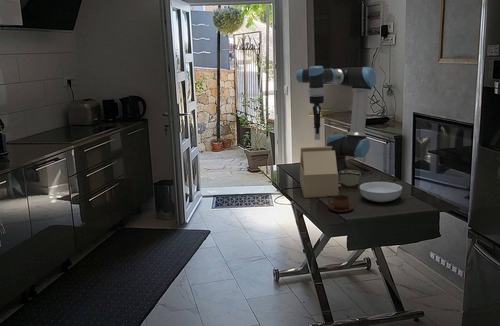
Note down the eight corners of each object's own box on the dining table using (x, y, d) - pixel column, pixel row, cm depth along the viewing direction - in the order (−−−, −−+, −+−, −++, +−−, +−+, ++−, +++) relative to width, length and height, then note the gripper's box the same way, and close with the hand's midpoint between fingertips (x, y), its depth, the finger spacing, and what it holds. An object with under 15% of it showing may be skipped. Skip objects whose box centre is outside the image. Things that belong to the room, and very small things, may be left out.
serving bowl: (410, 200, 240) (411, 187, 238) (380, 209, 230) (380, 195, 228) (380, 191, 257) (380, 179, 256) (350, 198, 248) (350, 185, 246)
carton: (331, 182, 279) (330, 162, 277) (338, 196, 252) (338, 174, 249) (300, 183, 280) (299, 163, 277) (304, 197, 253) (303, 175, 250)
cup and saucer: (330, 214, 226) (330, 202, 225) (326, 206, 238) (326, 194, 236) (356, 213, 226) (356, 200, 225) (350, 205, 238) (350, 193, 236)
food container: (363, 187, 266) (363, 170, 263) (360, 190, 260) (360, 172, 258) (341, 186, 271) (341, 168, 268) (338, 189, 265) (338, 171, 263)
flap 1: (330, 162, 277) (330, 161, 277) (332, 147, 266) (331, 146, 266) (300, 163, 277) (300, 162, 278) (301, 148, 266) (300, 147, 267)
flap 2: (334, 151, 256) (334, 150, 255) (337, 174, 249) (337, 173, 249) (302, 152, 256) (302, 151, 256) (304, 175, 250) (304, 175, 249)
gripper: (308, 94, 261) (309, 137, 266) (310, 97, 248) (311, 141, 253) (322, 94, 261) (322, 136, 266) (325, 96, 248) (325, 141, 253)
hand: (317, 139), depth 260 cm, fingers closed
